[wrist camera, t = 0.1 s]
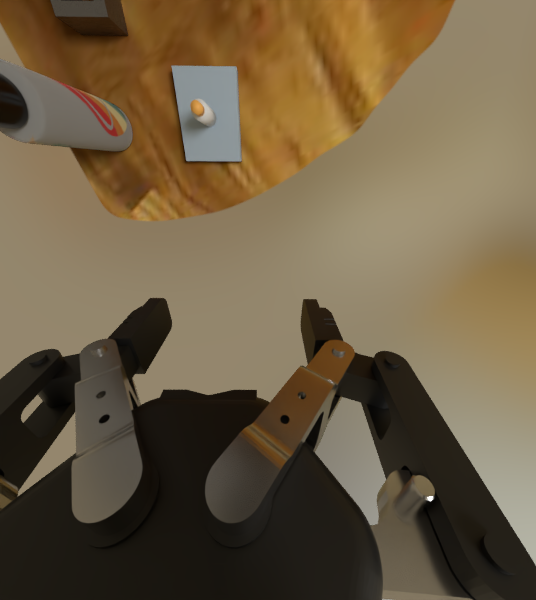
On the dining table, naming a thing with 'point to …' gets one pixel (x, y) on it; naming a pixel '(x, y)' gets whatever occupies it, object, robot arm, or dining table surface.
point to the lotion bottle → (58, 113)
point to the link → (92, 16)
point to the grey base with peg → (209, 112)
